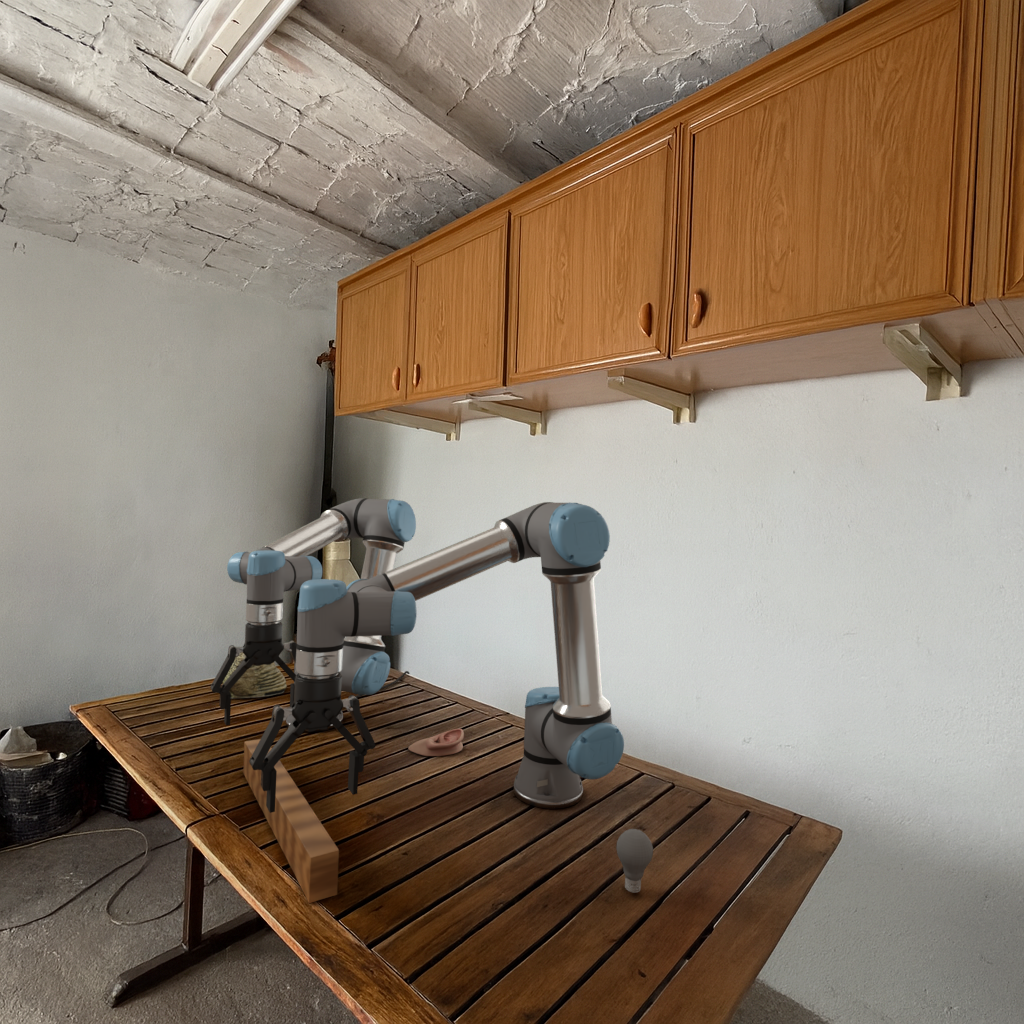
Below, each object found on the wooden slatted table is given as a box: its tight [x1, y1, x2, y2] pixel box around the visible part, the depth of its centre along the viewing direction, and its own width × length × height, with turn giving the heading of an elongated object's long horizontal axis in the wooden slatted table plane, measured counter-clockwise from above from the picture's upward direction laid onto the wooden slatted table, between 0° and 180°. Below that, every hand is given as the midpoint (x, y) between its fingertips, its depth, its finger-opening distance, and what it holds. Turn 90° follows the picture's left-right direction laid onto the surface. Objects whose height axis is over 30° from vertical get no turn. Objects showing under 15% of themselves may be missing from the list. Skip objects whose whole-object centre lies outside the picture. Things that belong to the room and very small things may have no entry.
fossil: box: [222, 652, 288, 699], centre depth 198 cm, size 9×18×15 cm, turn 132°
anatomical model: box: [408, 728, 465, 757], centre depth 162 cm, size 13×4×12 cm
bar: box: [242, 738, 340, 904], centre depth 122 cm, size 53×4×7 cm, turn 33°
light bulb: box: [615, 828, 654, 894], centre depth 106 cm, size 6×6×10 cm
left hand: (260, 718), depth 138 cm, fingers open, 13 cm apart
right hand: (312, 799), depth 106 cm, fingers open, 13 cm apart
